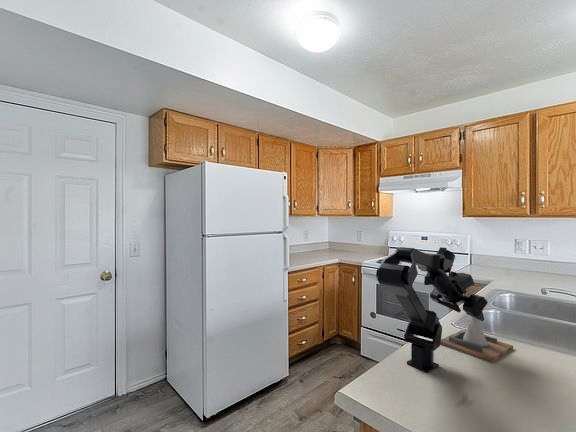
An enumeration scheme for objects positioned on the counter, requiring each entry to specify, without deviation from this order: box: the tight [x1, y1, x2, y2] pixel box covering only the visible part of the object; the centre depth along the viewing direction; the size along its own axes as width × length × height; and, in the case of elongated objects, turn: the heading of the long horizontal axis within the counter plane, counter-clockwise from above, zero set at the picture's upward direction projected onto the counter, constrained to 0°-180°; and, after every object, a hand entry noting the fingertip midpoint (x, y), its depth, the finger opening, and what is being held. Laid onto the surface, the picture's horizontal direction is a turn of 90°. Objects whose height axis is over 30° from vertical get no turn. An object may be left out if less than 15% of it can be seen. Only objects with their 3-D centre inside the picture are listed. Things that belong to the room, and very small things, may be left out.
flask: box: [463, 316, 488, 346], centre depth 100 cm, size 7×7×10 cm
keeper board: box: [440, 328, 514, 364], centre depth 100 cm, size 16×16×3 cm
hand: (471, 315), depth 100 cm, fingers open, 9 cm apart
